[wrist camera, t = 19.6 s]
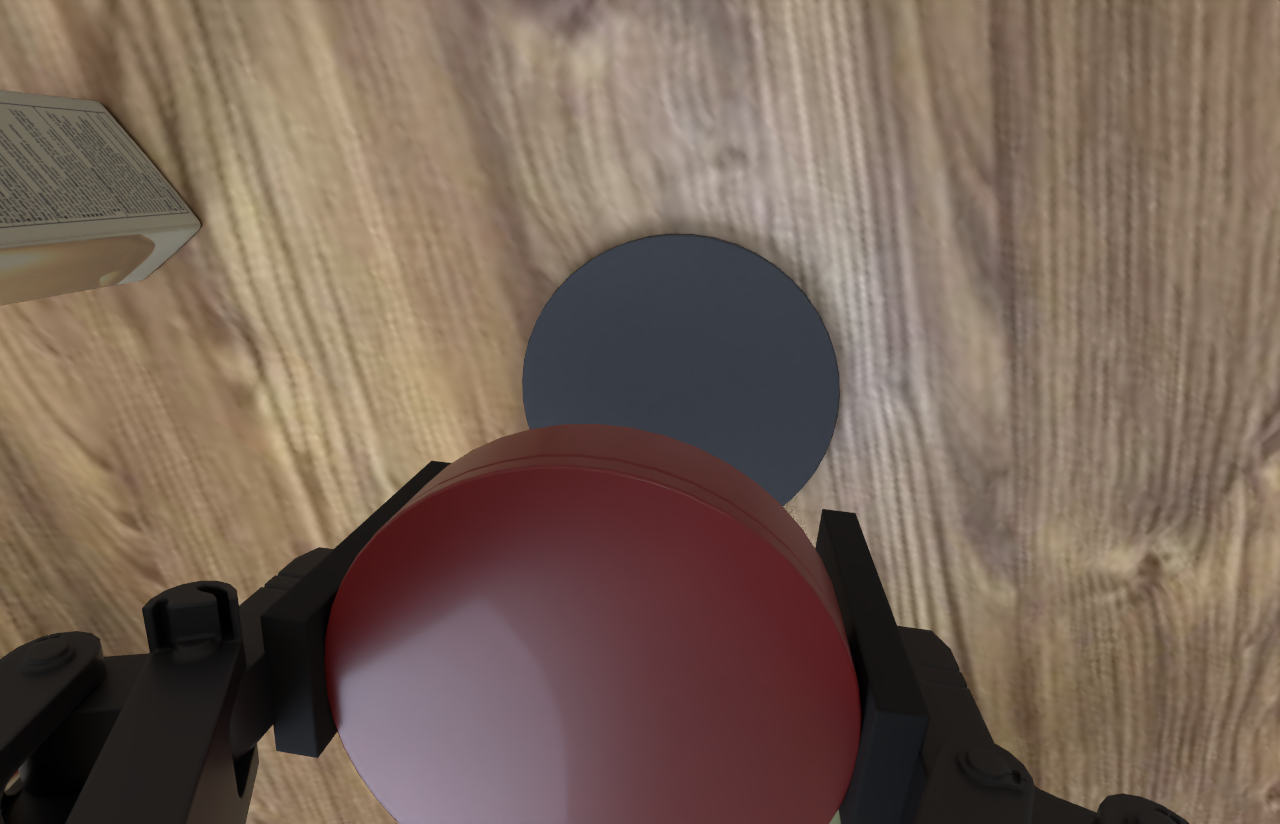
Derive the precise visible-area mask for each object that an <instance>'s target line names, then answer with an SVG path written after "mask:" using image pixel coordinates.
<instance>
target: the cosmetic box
mask: <svg viewBox="0 0 1280 824" xmlns="http://www.w3.org/2000/svg"><path fill="white" fill-rule="evenodd" d="M199 229H200V222H199V220H198V219H197V217H196V216H195V215H194V214H193V213H192V211H191V210H190V209H189V207H188V206H187V205H186V203H185V202H184V201H183V200H182V199H181V197H180V196H179V195H178V194H177V192H176V191H175V190H174V189H173V187H172V186H171V185H170V184H169V183H168V182H167V180H166V179H165V178H164V177H163V175H162V174H161V173H160V172H159V171H158V169H157V168H156V167H155V166H154V165H153V163H152V162H151V161H150V160H149V159H148V157H147V156H146V155H145V154H144V153H143V152H142V150H141V149H140V148H139V147H138V146H137V145H136V143H135V142H134V141H133V140H132V139H131V138H130V136H129V135H128V134H127V133H126V132H125V131H124V129H123V128H122V127H121V126H120V125H119V124H118V123H117V122H116V120H115V119H114V118H113V117H112V116H111V114H110V113H109V112H108V111H107V110H106V109H105V108H104V106H103V105H102V104H101V103H100V102H97V101H92V100H83V99H75V98H66V97H57V96H48V95H39V94H31V93H22V92H12V91H4V90H0V306H1V305H6V304H12V303H18V302H24V301H29V300H35V299H40V298H46V297H51V296H56V295H62V294H67V293H73V292H78V291H84V290H90V289H96V288H101V287H107V286H113V285H118V284H124V283H129V282H135V281H140V280H143V279H145V278H146V277H147V276H149V275H150V274H151V273H152V272H153V271H154V270H155V269H157V268H158V267H159V266H160V265H161V264H163V263H164V262H165V261H166V260H167V259H168V258H169V257H170V256H172V255H173V254H174V253H175V252H176V251H177V250H178V249H179V248H180V247H181V246H182V245H184V244H185V243H186V242H187V241H188V240H189V239H190V238H191V237H192V236H193V235H194V234H195V233H196V232H197V231H198V230H199Z"/></svg>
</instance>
